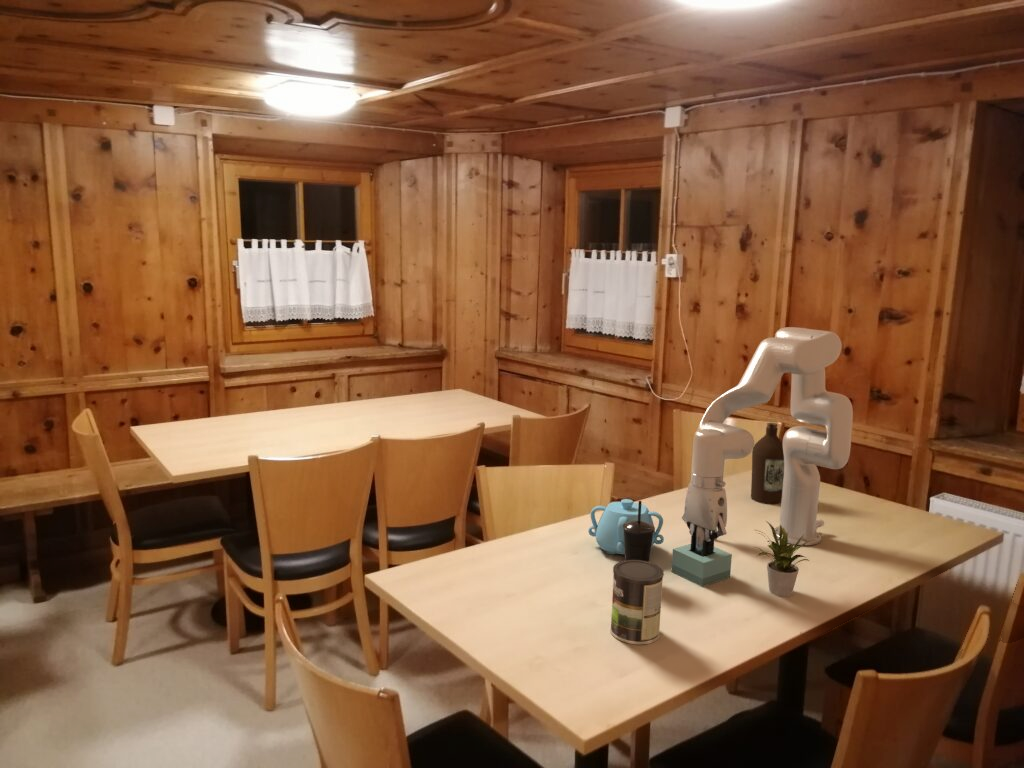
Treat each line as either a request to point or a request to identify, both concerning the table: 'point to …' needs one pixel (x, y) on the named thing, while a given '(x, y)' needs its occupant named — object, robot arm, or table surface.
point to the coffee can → (636, 601)
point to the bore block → (701, 565)
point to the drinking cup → (638, 538)
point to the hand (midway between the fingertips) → (701, 551)
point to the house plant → (782, 564)
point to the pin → (699, 540)
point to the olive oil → (768, 468)
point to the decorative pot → (620, 524)
